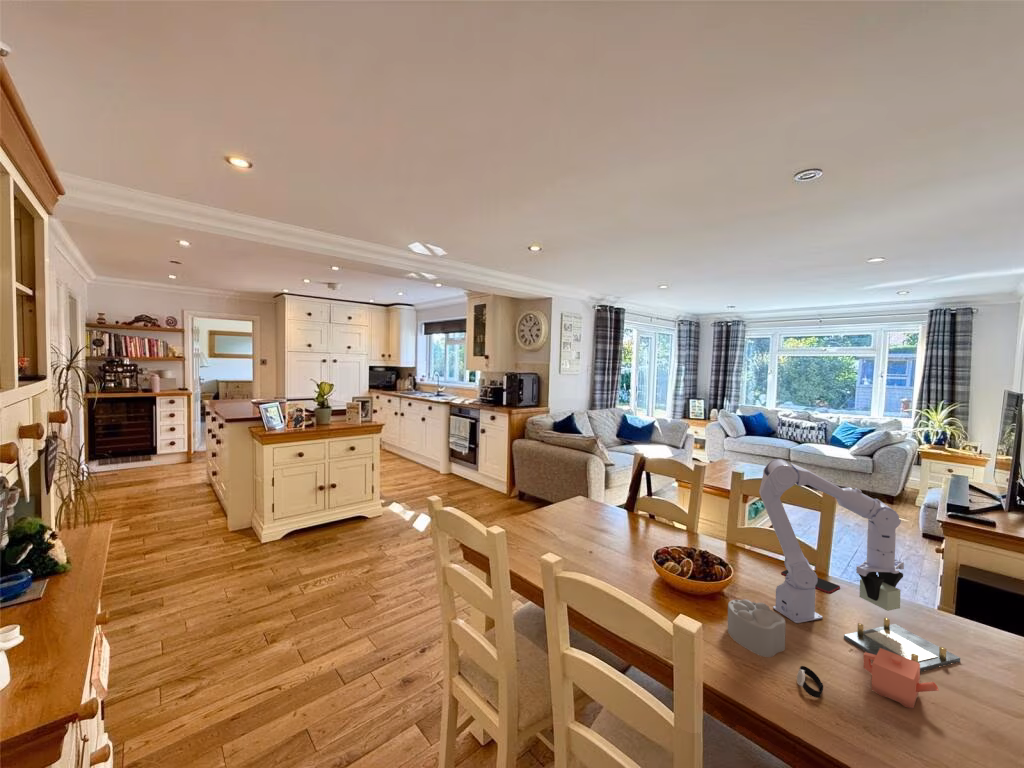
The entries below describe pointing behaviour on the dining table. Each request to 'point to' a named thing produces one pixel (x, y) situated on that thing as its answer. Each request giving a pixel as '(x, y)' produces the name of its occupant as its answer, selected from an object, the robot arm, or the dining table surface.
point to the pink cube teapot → (896, 677)
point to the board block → (883, 596)
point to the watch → (801, 682)
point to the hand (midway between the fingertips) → (879, 597)
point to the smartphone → (821, 584)
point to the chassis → (901, 645)
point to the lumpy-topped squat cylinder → (756, 627)
